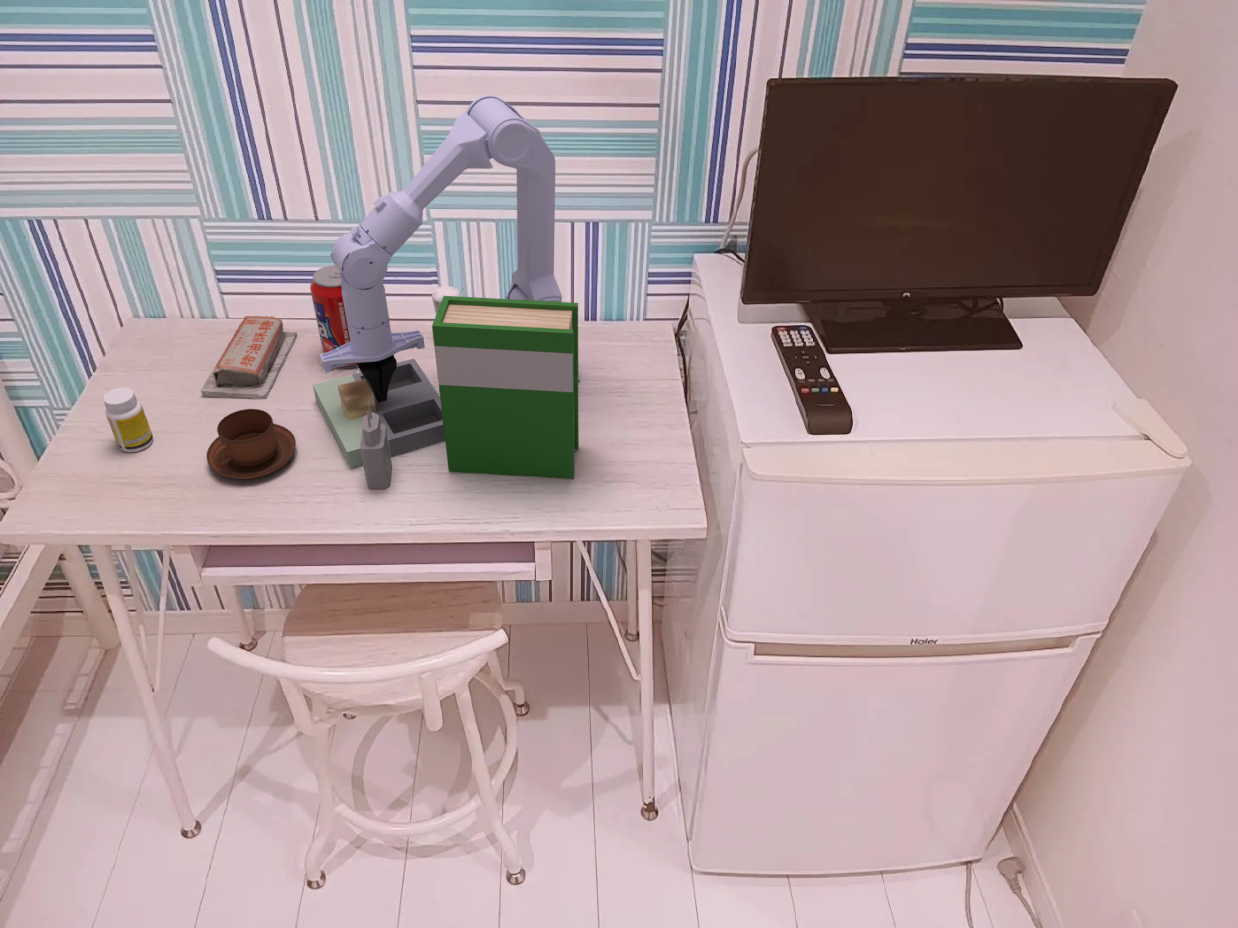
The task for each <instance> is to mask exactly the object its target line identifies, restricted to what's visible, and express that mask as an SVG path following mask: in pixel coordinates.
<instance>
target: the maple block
mask: <svg viewBox="0 0 1238 928" xmlns="http://www.w3.org/2000/svg"><path fill="white" fill-rule="evenodd" d="M338 390H339V395H340V400H341V405H342V407H343V409H344V411H345V413H346V414H347V416H348V418H349V420H351V419H355V418H359V417H362V416H365V415H367V411H368V412H369V408H368V403H370V408H371V412H374V413H376V407H375V401H374V395H373V392H372V390H371V389H370V387H369V385H368V383H367V382H366V380H365V379H362V380H358V381H354V382H350V383H346V384H343V385H339V386H338Z"/></svg>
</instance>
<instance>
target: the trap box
mask: <svg viewBox="0 0 1238 928" xmlns="http://www.w3.org/2000/svg"><path fill="white" fill-rule="evenodd" d="M362 379H365V380H366V382H367V383H368V385H369V387H370V389H371V390H372V387H371V385H370V383H369V382H368V380H367V379H366V378H365V377H364V375H363V374H362V373H361V371H360V372H357V373H352V374H348V375H346V376H341V377H337V378H334V379H329V380H325V381H322V382H318V383H313V384H312V388H313V391H314V393H313V394H314V398H315V402H316V404H317V405H318V407H319V410H320V411H321V414H322V416H323V417H324V419H325V421H326V423H327V425H328V427H329V429H330V432H331V433H332V435H333V437H334V439H335V441H336V444H338V447H339V449H340V451H341V453H342V454H343V457H344V459H345V461H346V463H347V465H348V467H349V469H354V468H357V467H361V466H364V465H363V460H362V455H361V449H360V442H361V436H362V424H363V417H364V416H362V417H359V418H355V419H351V420H349V418H348V416H347V414H346V413H345V411H344V409H343V407H342V405H341V400H340V395H339V390H338V386H339V385H343V384H346V383H350V382H354V381H358V380H362ZM372 392H373V390H372ZM373 395H374V393H373ZM374 401H375V407H376V414H378V415H379V419H380V424H384V425H385V426H386V431H387V437H388V443H389V449H390V455H391V458H392V457H395V456H398V455H402V454H406V453H408V452H412V451H415V450H418V449H422V448H425V447H429V446H432V445H435V444H439V443H443V442H445V436H444V427H443V418H442V409H441V401H440V394H439V393H438V392H437V391H436V389H435V387H434V386H433V384H432V382H431V381H430V380H429V378H428V377H427V375H426V374H425V372H424V371H423V370H422V368H421V366H420V364H419V363H418V361H417V360H416V359H415V358H411V359H407V360H402V361H399V362H398V361H397V368H396V369H395V371H394V373H393V375H392V377H391V380H390V384H389V388H388V394H387V401H383V402H380V403H378V401H377V400H376V398H375V396H374Z"/></svg>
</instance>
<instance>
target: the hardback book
mask: <svg viewBox="0 0 1238 928" xmlns="http://www.w3.org/2000/svg"><path fill="white" fill-rule="evenodd" d="M431 328H432V339H433V346H434V356H435V357H434V358H435V364H436V365H435V366H436V373H437V383H438V391H439V396H440V401H441V409H442V418H443V427H444V436H445V441H444V442H445V444H444V445H445V451H446V453H445V454H446V461H447V468H448V472H449V473H459V474H461V473H462V474H473V475H474V474H476V475H477V474H478V475H491V476H495V475H496V476H512V477H527V478H547V479H560V480H561V479H562V480H574V479H575V451H579V445H580V444H579V436H580V435H579V432H580V431H579V429H580V427H579V424H580V423H579V381H578V376H579V302H570V301H569V302H567V301H562V302H552V301H533V300H515V299H506V298H493V297H478V296H476V297H471V296H460V297H458V296H443V299H442V301H441V304H440V307H439V309H438V312H437V314H436V313H435V317H434V319H433V322H432V325H431Z"/></svg>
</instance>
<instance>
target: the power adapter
mask: <svg viewBox="0 0 1238 928" xmlns="http://www.w3.org/2000/svg"><path fill="white" fill-rule="evenodd" d="M368 408H369V412H368V411H367V415H365V416H364V417H363V424H362V436H361V442H360V449H361V455H362V460H363V465H362V466H363V469H364V475H365V480H366V486H367V489H368V490H373V491H374V490H387V489H389V488H390V487H391V483H392V476H393V475H392V473H393V463H392V457H391V455H390V449H389V443H388V437H387V431H386V426H385V425H384V424H380V419H379V415H378V414H376V413H374V412H371V408H370V403H368Z"/></svg>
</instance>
